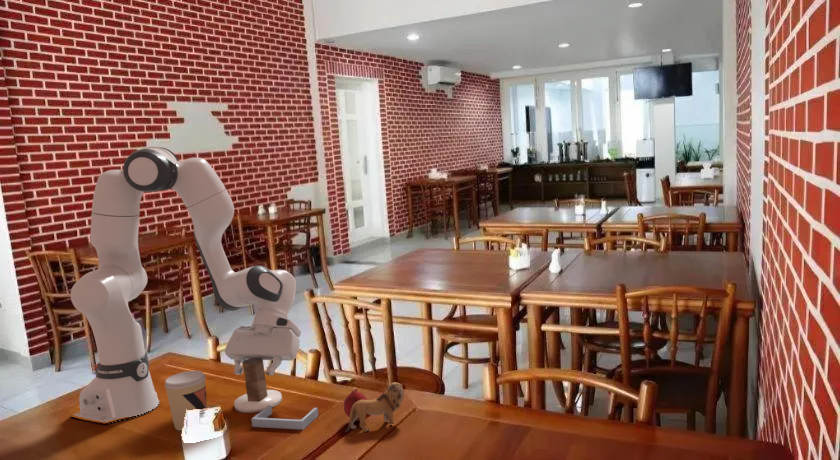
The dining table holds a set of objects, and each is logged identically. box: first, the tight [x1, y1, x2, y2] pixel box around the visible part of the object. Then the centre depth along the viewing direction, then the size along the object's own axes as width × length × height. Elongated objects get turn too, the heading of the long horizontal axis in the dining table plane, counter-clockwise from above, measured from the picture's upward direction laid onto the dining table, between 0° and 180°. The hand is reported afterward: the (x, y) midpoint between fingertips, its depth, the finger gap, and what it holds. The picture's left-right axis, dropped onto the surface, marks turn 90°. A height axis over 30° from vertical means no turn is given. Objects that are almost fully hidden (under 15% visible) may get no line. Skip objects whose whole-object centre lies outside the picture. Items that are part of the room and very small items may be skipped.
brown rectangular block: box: [242, 358, 268, 402], centre depth 164 cm, size 4×4×10 cm
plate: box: [233, 389, 283, 414], centre depth 165 cm, size 12×12×1 cm
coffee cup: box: [164, 370, 208, 431], centre depth 155 cm, size 9×9×12 cm
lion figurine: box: [344, 381, 405, 433], centre depth 143 cm, size 15×5×9 cm, turn 114°
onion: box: [343, 387, 369, 422], centre depth 147 cm, size 6×6×8 cm
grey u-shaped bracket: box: [250, 406, 319, 431], centre depth 151 cm, size 14×8×2 cm, turn 72°
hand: (253, 374), depth 163 cm, fingers open, 8 cm apart
